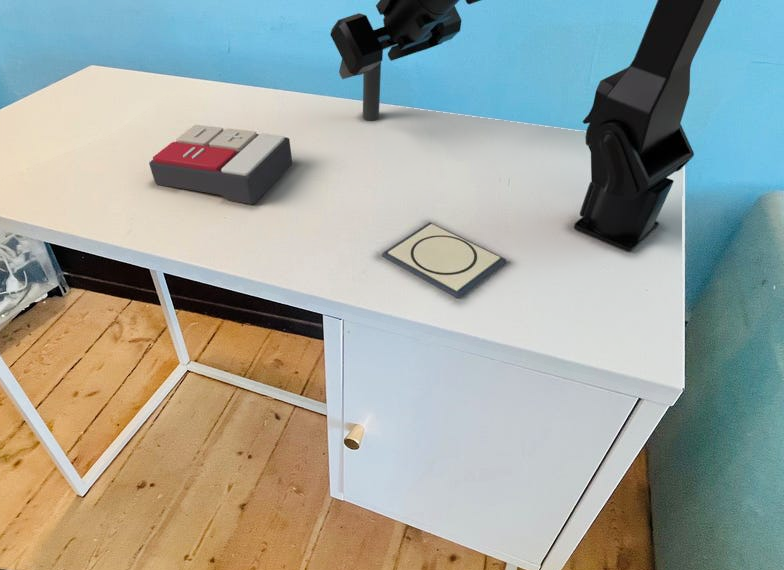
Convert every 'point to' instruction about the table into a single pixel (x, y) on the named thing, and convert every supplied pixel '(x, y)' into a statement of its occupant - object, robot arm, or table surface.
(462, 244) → the coaster
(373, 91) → the dot marker
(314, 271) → the table surface
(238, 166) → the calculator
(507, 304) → the table surface
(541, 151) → the table surface
